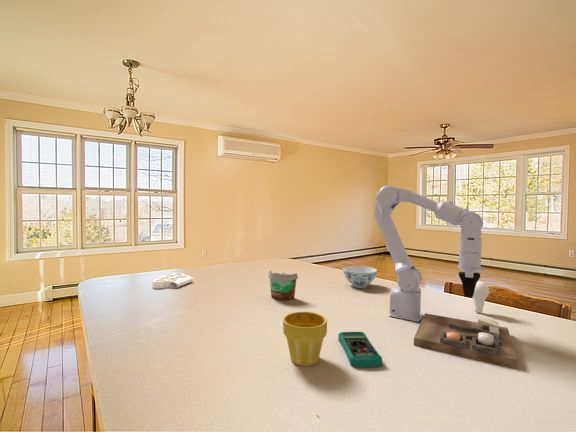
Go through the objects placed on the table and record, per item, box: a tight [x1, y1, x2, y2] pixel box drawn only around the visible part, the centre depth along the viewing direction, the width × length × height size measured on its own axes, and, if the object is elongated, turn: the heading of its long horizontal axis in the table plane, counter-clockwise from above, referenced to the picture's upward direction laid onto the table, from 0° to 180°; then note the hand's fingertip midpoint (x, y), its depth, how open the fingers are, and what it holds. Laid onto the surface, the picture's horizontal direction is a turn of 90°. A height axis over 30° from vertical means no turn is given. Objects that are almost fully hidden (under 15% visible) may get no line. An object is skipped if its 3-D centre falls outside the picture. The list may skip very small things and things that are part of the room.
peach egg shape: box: [446, 332, 461, 341], centre depth 80 cm, size 3×3×2 cm
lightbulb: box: [471, 280, 490, 314], centre depth 108 cm, size 6×6×11 cm
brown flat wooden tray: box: [413, 312, 518, 369], centre depth 86 cm, size 22×22×4 cm
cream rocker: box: [476, 315, 500, 330], centre depth 89 cm, size 5×4×1 cm
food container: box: [267, 270, 299, 301], centre depth 121 cm, size 12×6×10 cm, turn 68°
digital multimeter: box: [337, 331, 383, 368], centre depth 78 cm, size 7×15×3 cm, turn 3°
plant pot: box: [282, 311, 328, 367], centre depth 74 cm, size 10×10×10 cm
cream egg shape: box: [478, 332, 494, 345], centre depth 76 cm, size 3×3×2 cm
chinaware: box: [342, 265, 378, 289], centre depth 142 cm, size 15×15×8 cm
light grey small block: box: [489, 326, 499, 340], centre depth 81 cm, size 2×4×2 cm, turn 149°
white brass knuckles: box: [151, 272, 194, 290], centre depth 141 cm, size 3×18×15 cm
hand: (468, 296), depth 95 cm, fingers closed
